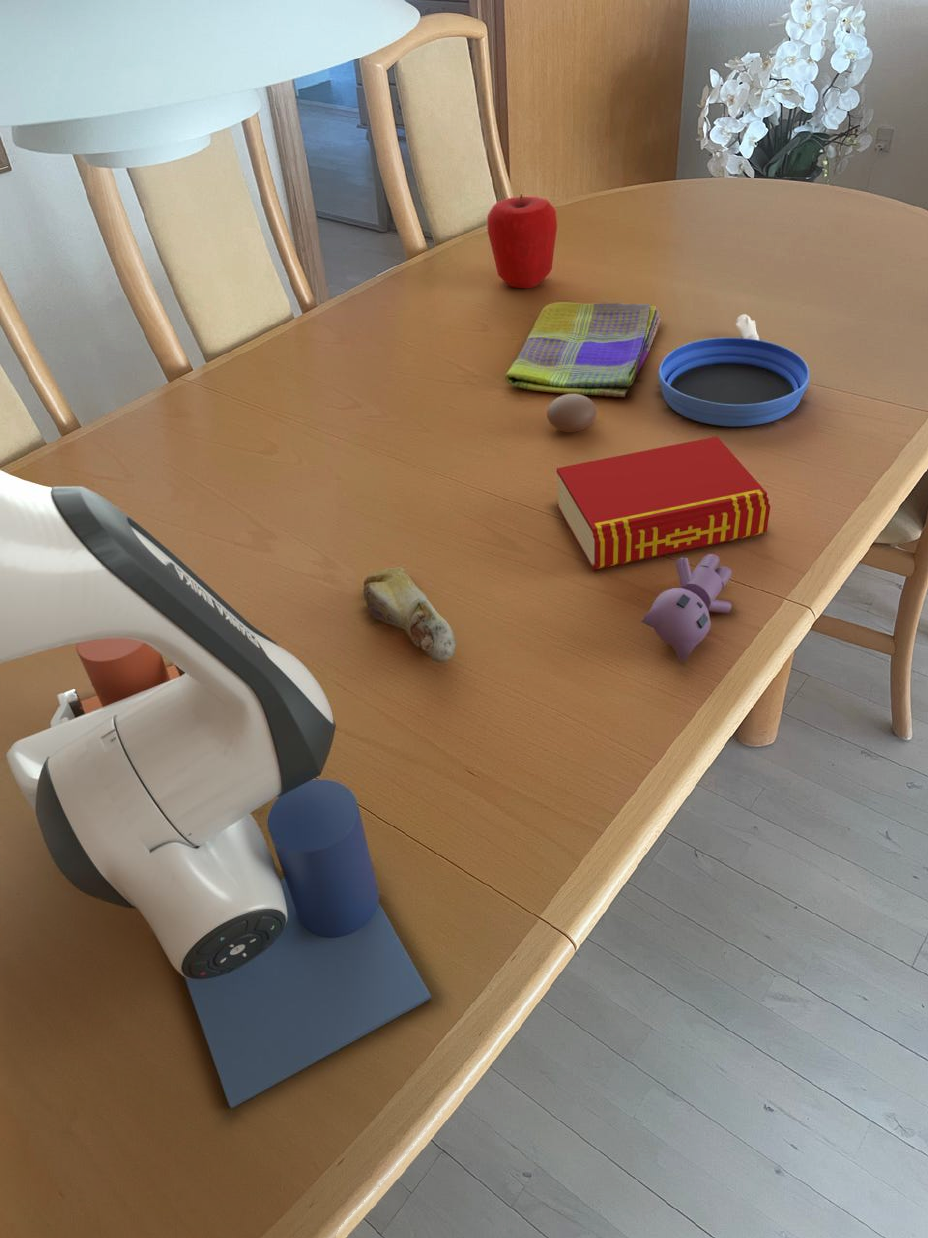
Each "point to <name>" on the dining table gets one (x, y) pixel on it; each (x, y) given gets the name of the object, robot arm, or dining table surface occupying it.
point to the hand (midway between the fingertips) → (125, 675)
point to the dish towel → (585, 348)
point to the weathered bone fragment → (409, 612)
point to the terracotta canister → (121, 667)
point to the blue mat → (303, 1001)
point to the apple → (522, 239)
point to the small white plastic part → (747, 327)
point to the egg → (571, 412)
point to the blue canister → (324, 857)
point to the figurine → (689, 605)
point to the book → (660, 502)
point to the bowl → (733, 381)
